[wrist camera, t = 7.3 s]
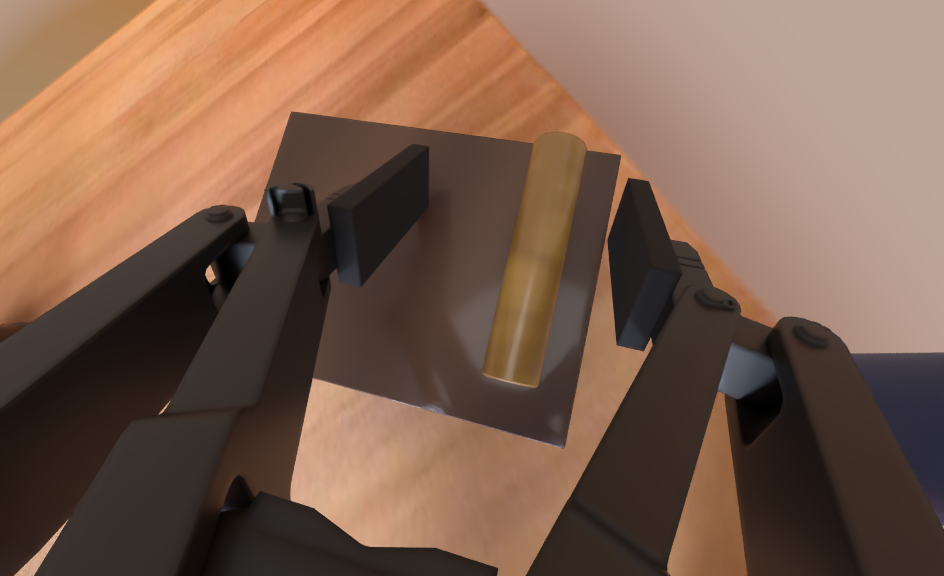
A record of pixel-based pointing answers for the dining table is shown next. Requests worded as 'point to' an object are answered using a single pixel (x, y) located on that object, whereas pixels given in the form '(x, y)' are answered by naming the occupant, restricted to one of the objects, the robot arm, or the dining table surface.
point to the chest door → (466, 272)
